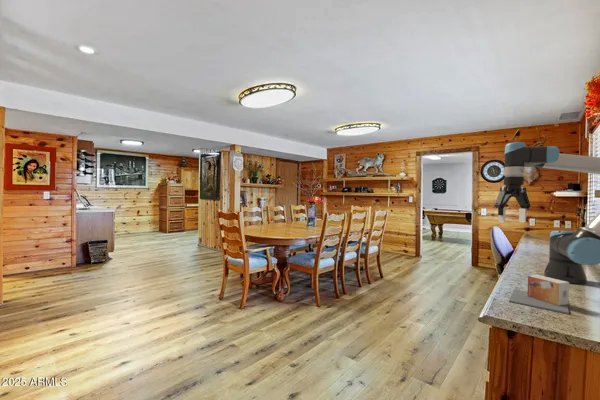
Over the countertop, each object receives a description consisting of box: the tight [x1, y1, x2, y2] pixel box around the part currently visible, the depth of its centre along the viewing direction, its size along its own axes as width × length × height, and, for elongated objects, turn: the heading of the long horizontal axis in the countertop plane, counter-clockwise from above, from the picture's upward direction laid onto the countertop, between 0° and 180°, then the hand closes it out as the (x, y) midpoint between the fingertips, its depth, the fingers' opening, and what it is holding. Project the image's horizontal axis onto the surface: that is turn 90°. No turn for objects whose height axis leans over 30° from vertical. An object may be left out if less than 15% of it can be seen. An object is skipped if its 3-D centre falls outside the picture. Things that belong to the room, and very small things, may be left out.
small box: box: [526, 274, 570, 306], centre depth 108 cm, size 8×6×10 cm
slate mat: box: [508, 288, 570, 315], centre depth 108 cm, size 18×16×1 cm
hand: (512, 222), depth 135 cm, fingers open, 13 cm apart
